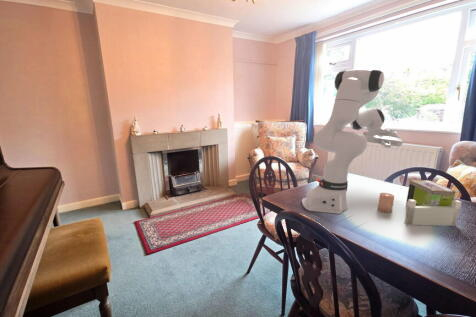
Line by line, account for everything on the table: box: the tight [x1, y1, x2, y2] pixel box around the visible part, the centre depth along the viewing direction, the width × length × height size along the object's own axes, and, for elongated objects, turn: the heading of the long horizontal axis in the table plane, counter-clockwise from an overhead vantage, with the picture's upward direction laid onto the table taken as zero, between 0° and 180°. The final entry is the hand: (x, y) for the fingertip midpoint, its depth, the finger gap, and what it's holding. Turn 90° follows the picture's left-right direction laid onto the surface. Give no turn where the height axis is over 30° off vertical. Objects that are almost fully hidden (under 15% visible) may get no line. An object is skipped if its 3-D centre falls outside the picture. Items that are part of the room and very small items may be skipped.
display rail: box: [404, 199, 462, 227], centre depth 98 cm, size 20×2×11 cm, turn 86°
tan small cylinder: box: [377, 192, 395, 214], centre depth 112 cm, size 6×6×8 cm
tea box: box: [405, 179, 457, 208], centre depth 107 cm, size 15×10×15 cm
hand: (387, 146), depth 129 cm, fingers closed
